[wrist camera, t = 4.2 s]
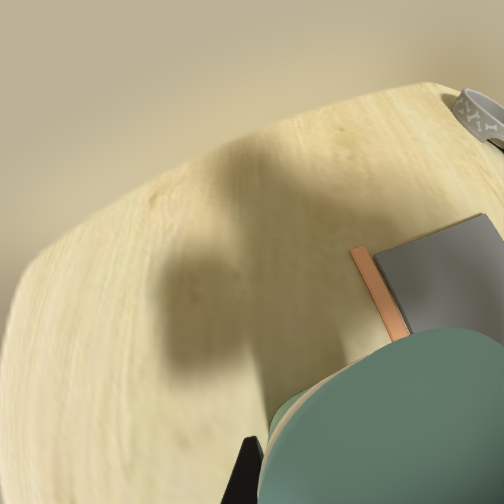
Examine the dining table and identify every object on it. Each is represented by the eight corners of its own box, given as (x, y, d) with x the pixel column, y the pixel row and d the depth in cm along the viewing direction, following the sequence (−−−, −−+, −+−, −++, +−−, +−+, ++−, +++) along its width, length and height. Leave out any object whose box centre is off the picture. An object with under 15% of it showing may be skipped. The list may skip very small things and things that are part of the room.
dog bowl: (448, 97, 37) (454, 76, 33) (515, 137, 31) (523, 119, 26) (453, 128, 30) (462, 101, 25) (533, 181, 24) (546, 159, 19)
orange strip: (454, 497, 8) (456, 498, 7) (441, 506, 8) (443, 507, 7) (363, 247, 19) (364, 245, 19) (349, 251, 19) (350, 249, 19)
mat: (457, 486, 8) (459, 487, 8) (373, 257, 19) (374, 254, 19) (554, 376, 10) (557, 375, 9) (483, 215, 20) (485, 213, 20)
